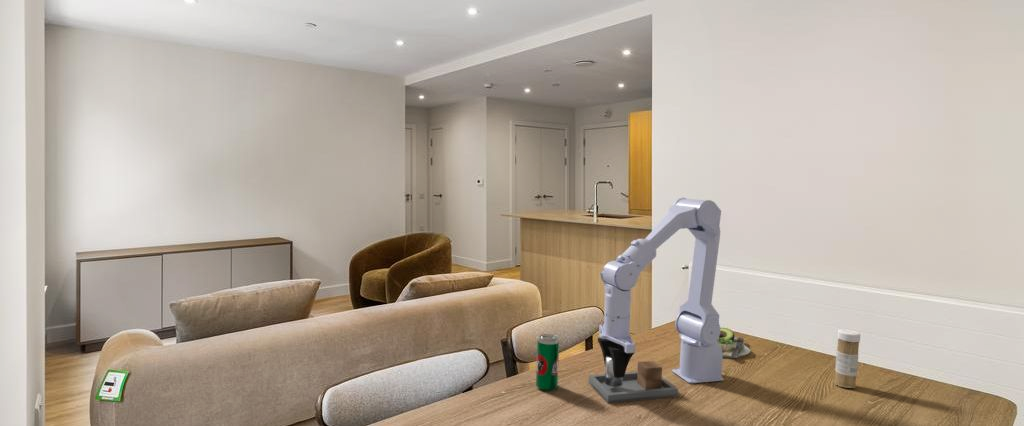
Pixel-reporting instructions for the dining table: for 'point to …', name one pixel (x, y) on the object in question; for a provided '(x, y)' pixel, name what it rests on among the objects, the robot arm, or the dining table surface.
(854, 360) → the sprinkles bottle
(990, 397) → the dining table surface
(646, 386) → the walnut block
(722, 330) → the salad plate
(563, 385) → the dining table surface
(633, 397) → the tray
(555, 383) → the soda can
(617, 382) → the steel cylinder
